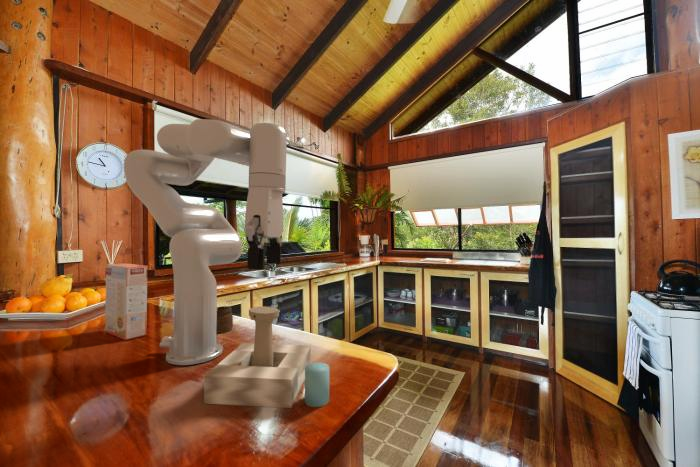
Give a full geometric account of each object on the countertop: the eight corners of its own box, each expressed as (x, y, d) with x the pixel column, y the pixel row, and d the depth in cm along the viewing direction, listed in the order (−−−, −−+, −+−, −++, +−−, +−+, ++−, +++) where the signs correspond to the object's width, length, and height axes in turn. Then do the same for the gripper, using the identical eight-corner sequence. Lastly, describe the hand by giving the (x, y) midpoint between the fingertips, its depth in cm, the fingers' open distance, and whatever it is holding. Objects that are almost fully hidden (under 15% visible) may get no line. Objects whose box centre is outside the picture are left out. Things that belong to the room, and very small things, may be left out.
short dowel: (302, 406, 53) (302, 372, 53) (307, 392, 58) (307, 361, 58) (327, 407, 53) (327, 373, 53) (330, 394, 57) (331, 362, 57)
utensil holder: (228, 333, 91) (228, 294, 91) (207, 333, 91) (207, 294, 91) (235, 327, 97) (236, 290, 97) (216, 327, 97) (216, 290, 97)
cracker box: (148, 335, 89) (148, 265, 89) (124, 341, 84) (124, 266, 84) (127, 327, 96) (127, 262, 96) (104, 332, 91) (104, 263, 91)
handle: (264, 392, 57) (265, 314, 57) (243, 383, 61) (243, 310, 61) (283, 382, 61) (283, 309, 61) (261, 374, 65) (262, 305, 65)
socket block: (204, 403, 54) (204, 375, 54) (242, 364, 70) (242, 343, 70) (291, 408, 52) (291, 379, 52) (310, 367, 68) (310, 345, 68)
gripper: (265, 190, 72) (264, 261, 72) (229, 177, 55) (227, 270, 55) (296, 190, 71) (294, 262, 71) (269, 177, 54) (267, 272, 54)
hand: (265, 265), depth 63 cm, fingers open, 9 cm apart
